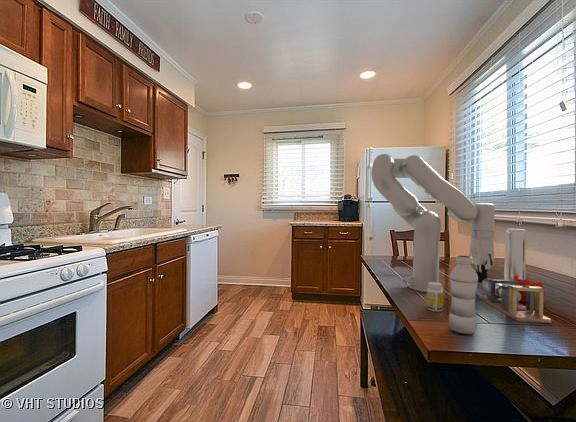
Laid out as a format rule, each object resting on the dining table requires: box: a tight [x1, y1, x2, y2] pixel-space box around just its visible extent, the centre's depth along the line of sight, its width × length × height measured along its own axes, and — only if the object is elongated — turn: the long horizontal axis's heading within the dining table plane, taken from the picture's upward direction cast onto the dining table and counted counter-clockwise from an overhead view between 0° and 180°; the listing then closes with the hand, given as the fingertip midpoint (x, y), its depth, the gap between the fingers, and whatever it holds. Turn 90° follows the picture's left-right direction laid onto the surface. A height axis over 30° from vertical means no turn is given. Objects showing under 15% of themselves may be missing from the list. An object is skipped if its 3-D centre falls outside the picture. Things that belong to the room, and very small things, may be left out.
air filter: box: [503, 228, 527, 285], centre depth 119 cm, size 6×6×25 cm
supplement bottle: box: [426, 282, 444, 313], centre depth 98 cm, size 5×5×8 cm
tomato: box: [516, 278, 546, 304], centre depth 107 cm, size 9×9×8 cm
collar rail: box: [478, 278, 552, 324], centre depth 99 cm, size 9×23×9 cm, turn 172°
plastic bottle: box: [448, 254, 479, 335], centre depth 80 cm, size 6×7×20 cm
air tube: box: [481, 277, 521, 303], centre depth 106 cm, size 5×16×5 cm, turn 173°
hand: (481, 282), depth 118 cm, fingers closed
